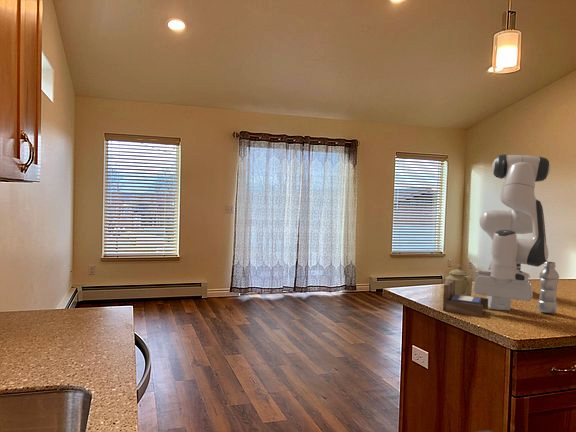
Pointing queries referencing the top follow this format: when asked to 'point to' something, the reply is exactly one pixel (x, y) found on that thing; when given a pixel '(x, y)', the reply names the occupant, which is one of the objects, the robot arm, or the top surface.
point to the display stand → (460, 306)
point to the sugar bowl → (461, 281)
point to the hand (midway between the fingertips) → (501, 309)
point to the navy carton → (466, 299)
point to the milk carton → (492, 302)
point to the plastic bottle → (548, 288)
